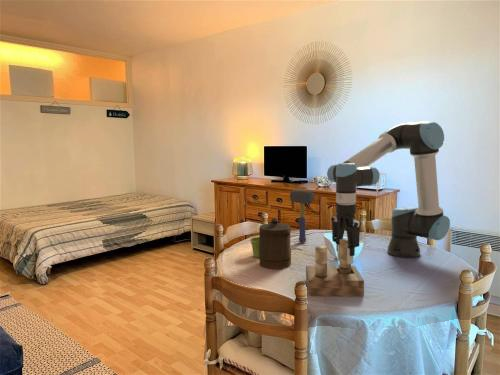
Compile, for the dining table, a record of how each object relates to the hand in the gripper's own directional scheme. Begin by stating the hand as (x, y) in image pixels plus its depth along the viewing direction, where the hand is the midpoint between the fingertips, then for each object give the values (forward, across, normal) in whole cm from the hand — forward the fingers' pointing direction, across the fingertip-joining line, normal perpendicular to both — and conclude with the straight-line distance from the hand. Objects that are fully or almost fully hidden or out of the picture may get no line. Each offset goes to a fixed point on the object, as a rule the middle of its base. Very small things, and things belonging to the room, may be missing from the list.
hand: (345, 261), depth 147 cm
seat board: (+10, -1, -5) cm, 11 cm away
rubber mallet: (+10, -57, +27) cm, 64 cm away
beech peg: (+5, 0, 0) cm, 5 cm away
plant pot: (+10, -52, -6) cm, 53 cm away
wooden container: (+10, -38, -7) cm, 40 cm away
